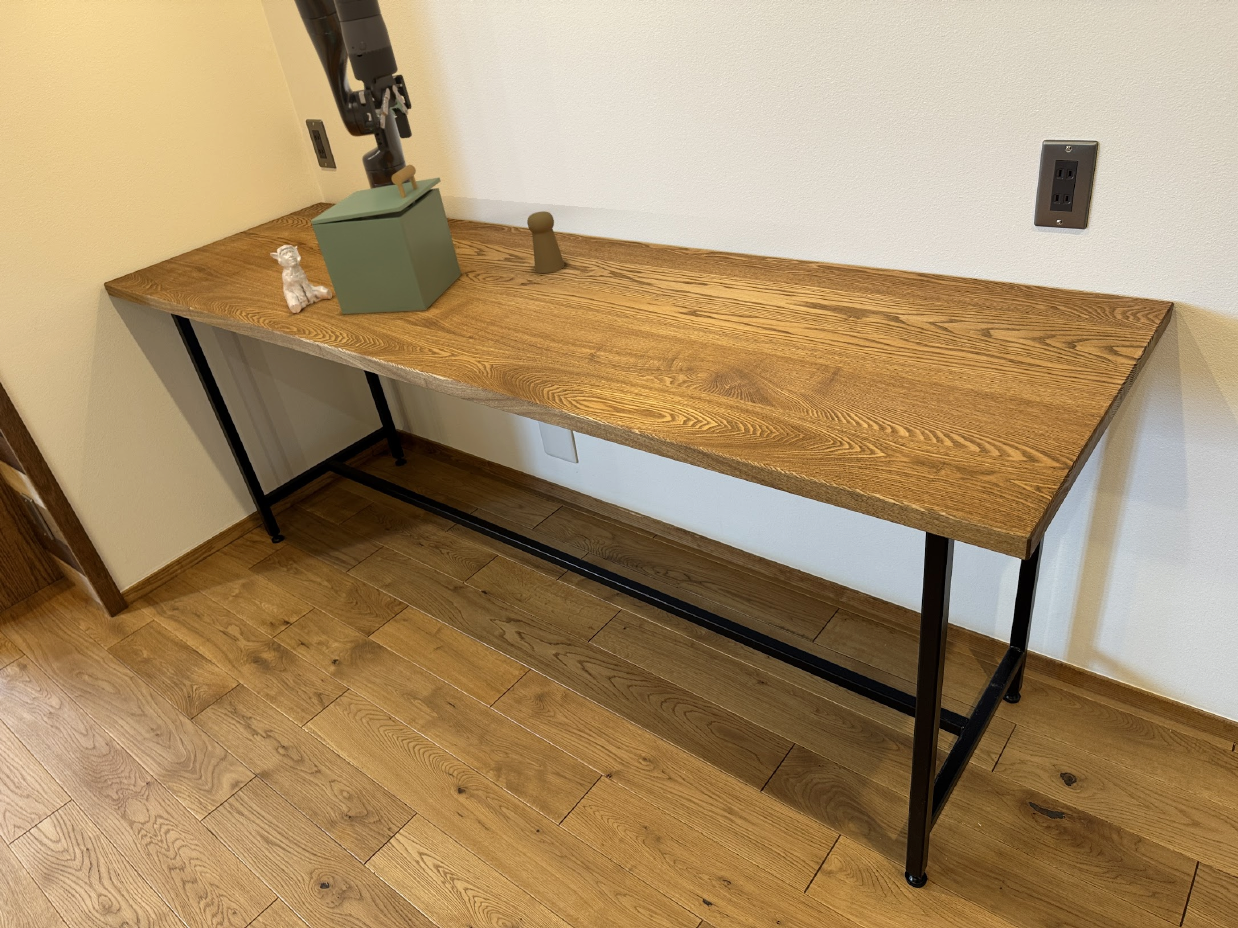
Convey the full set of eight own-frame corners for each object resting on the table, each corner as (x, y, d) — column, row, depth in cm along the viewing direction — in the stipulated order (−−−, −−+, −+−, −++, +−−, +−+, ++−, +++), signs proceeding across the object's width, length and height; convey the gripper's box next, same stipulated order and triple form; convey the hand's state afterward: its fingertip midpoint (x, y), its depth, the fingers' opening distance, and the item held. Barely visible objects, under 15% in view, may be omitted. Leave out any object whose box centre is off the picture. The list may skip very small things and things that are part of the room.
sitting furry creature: (294, 315, 177) (272, 257, 171) (273, 308, 183) (251, 252, 176) (334, 297, 183) (315, 240, 176) (313, 291, 188) (293, 236, 182)
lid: (441, 181, 172) (432, 154, 169) (400, 211, 158) (390, 182, 155) (357, 195, 178) (348, 169, 175) (311, 224, 164) (300, 197, 161)
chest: (461, 274, 182) (438, 188, 173) (425, 310, 168) (398, 218, 159) (383, 279, 188) (357, 195, 178) (342, 314, 174) (311, 225, 164)
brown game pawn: (569, 261, 179) (558, 207, 173) (558, 273, 174) (547, 218, 169) (542, 262, 181) (531, 208, 175) (530, 273, 177) (518, 219, 171)
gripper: (369, 42, 159) (395, 135, 167) (328, 57, 147) (359, 157, 156) (406, 36, 156) (431, 131, 165) (368, 52, 145) (397, 153, 154)
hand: (396, 144), depth 161 cm, fingers open, 8 cm apart
